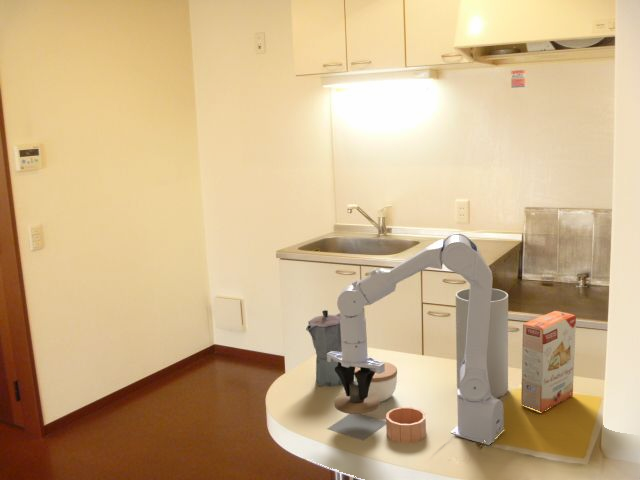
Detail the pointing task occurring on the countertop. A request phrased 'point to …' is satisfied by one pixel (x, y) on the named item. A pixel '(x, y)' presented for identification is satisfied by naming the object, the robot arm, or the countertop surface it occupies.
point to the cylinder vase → (496, 339)
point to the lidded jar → (383, 382)
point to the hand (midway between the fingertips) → (356, 396)
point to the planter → (406, 424)
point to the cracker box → (548, 360)
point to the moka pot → (326, 346)
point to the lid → (356, 401)
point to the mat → (358, 426)
